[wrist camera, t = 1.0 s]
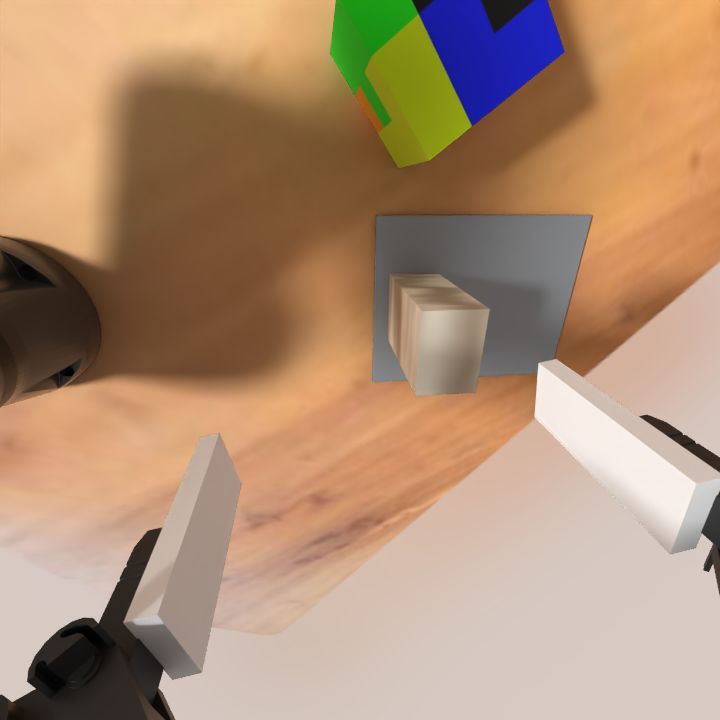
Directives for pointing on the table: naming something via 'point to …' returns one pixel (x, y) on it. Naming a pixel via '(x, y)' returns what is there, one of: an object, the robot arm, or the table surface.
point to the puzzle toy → (438, 64)
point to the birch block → (436, 333)
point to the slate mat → (486, 279)
